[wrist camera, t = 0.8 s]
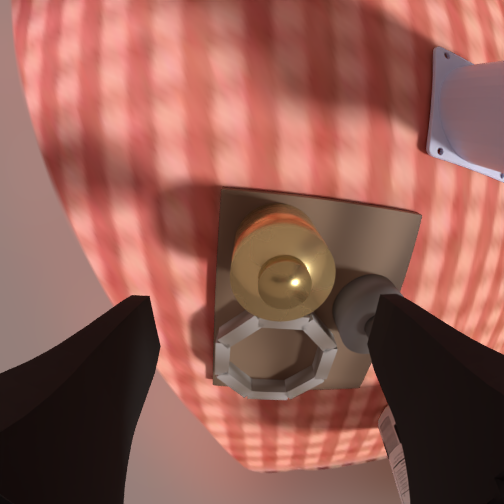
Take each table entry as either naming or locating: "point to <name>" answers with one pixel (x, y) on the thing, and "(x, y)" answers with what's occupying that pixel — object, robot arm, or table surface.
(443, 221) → the table surface
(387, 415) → the supplement can
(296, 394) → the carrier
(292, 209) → the brass knob
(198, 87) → the table surface
